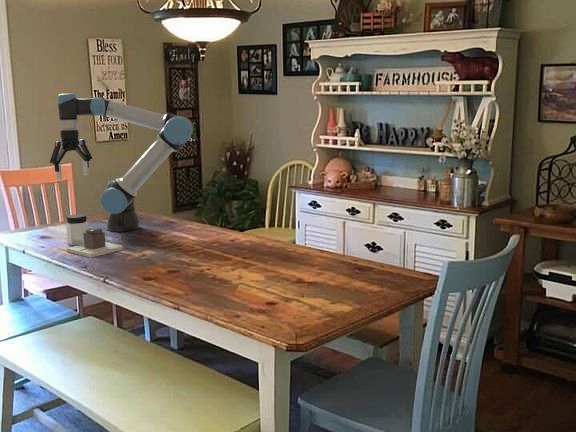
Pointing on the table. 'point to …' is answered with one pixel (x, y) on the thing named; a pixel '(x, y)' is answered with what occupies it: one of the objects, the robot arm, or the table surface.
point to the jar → (76, 228)
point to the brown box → (94, 238)
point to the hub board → (94, 250)
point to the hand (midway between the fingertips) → (72, 177)
